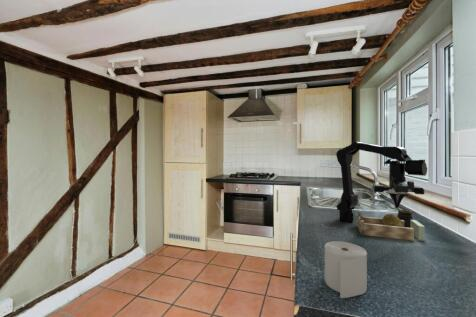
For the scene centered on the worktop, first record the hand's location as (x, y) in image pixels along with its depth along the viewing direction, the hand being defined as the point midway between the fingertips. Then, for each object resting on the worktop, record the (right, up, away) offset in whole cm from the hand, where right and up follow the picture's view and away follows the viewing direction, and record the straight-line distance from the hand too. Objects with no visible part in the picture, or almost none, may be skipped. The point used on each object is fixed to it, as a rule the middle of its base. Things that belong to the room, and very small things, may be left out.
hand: (396, 208), depth 100 cm
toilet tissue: (-43, -13, -40) cm, 60 cm away
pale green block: (+7, -12, -3) cm, 14 cm away
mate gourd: (+12, -12, +11) cm, 20 cm away
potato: (-1, -12, +1) cm, 12 cm away
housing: (-5, -12, +2) cm, 13 cm away
